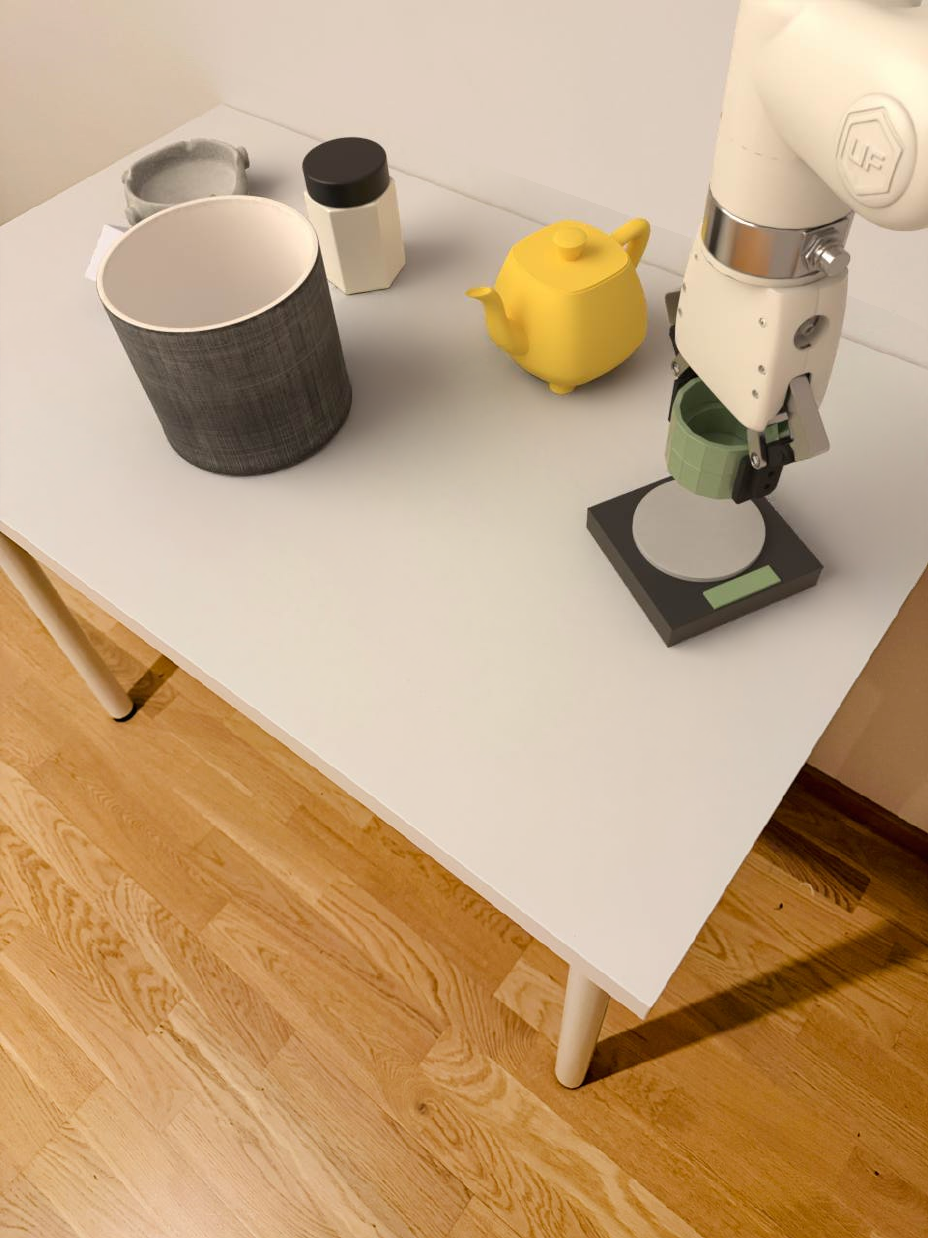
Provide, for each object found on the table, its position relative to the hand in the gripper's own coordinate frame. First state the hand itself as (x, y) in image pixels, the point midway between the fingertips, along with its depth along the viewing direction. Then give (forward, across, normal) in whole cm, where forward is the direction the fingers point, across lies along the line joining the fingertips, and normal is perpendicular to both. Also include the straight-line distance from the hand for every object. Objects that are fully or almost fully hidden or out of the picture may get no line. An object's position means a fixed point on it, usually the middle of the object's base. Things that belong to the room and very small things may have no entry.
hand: (720, 453), depth 62 cm
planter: (+12, +33, +27) cm, 44 cm away
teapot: (+12, +26, -1) cm, 28 cm away
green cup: (+1, 0, 0) cm, 1 cm away
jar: (+12, +48, +11) cm, 51 cm away
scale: (+11, 0, 0) cm, 11 cm away
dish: (+12, +68, +25) cm, 73 cm away
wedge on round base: (+12, +53, +31) cm, 62 cm away
